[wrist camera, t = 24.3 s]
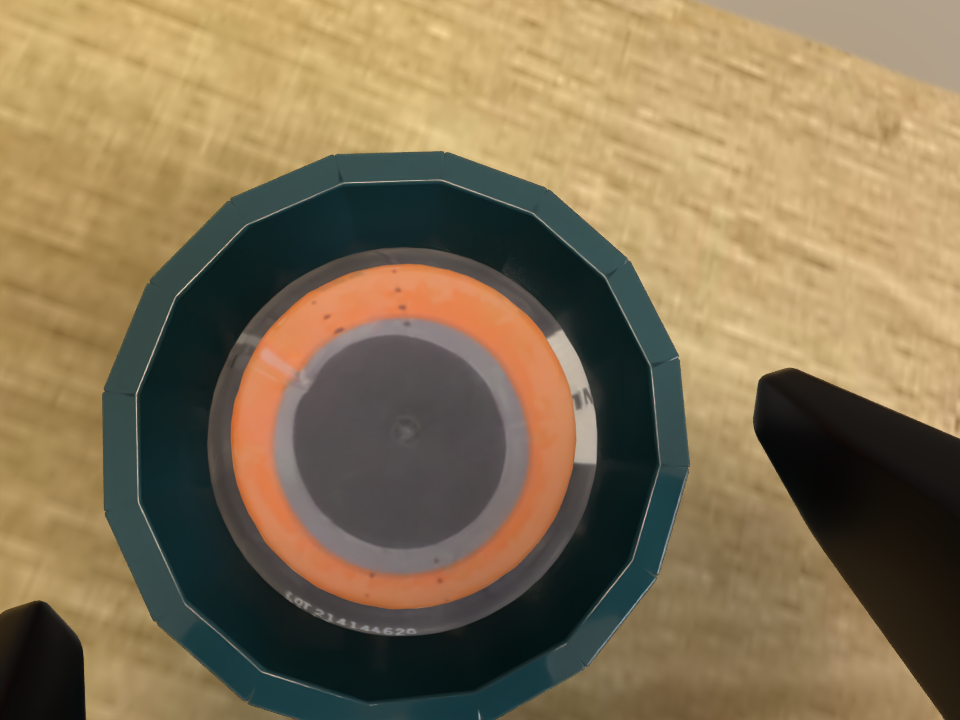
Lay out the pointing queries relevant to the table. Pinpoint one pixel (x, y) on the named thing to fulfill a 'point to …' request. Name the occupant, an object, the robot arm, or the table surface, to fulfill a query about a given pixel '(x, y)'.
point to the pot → (189, 394)
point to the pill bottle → (402, 441)
